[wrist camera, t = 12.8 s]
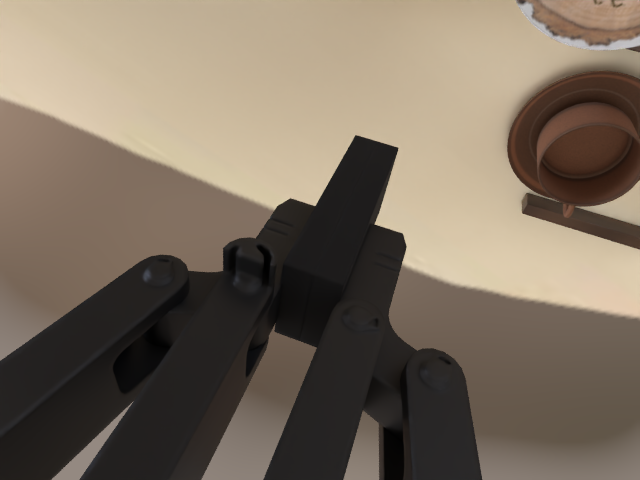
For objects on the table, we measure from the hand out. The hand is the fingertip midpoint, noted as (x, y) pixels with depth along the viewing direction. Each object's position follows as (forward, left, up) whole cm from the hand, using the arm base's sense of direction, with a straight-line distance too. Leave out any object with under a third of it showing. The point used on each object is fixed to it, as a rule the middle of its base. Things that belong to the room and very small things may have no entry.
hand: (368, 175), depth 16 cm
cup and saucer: (+14, -8, -29) cm, 33 cm away
